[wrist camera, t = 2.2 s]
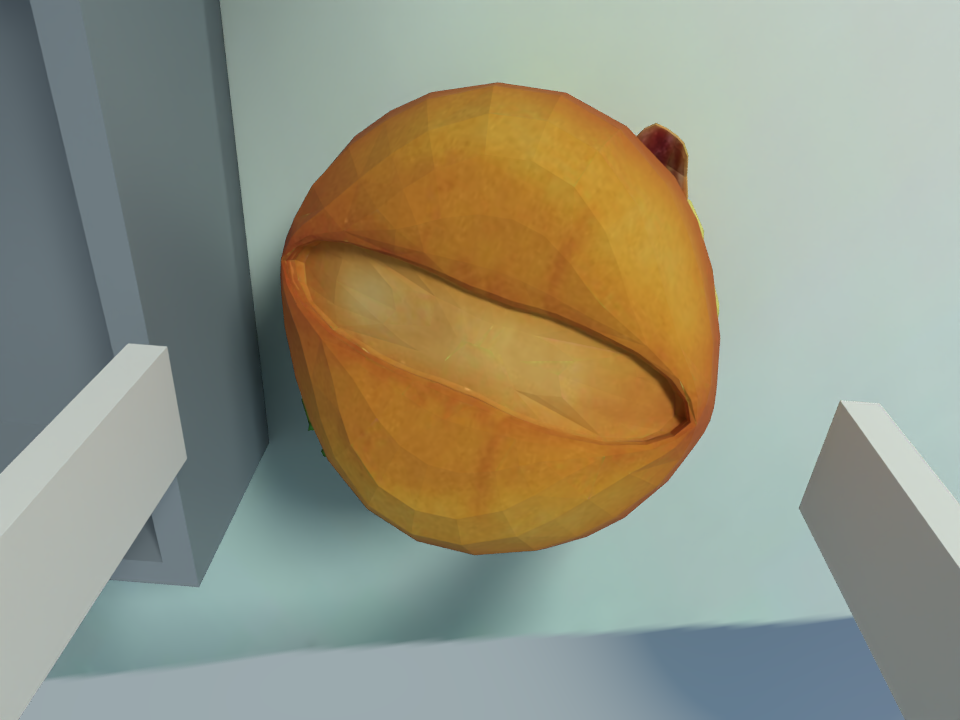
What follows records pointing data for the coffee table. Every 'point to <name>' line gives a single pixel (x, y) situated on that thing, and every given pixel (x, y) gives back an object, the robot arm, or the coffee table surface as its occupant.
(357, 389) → the cheeseburger
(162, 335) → the bin
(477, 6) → the coffee table surface
